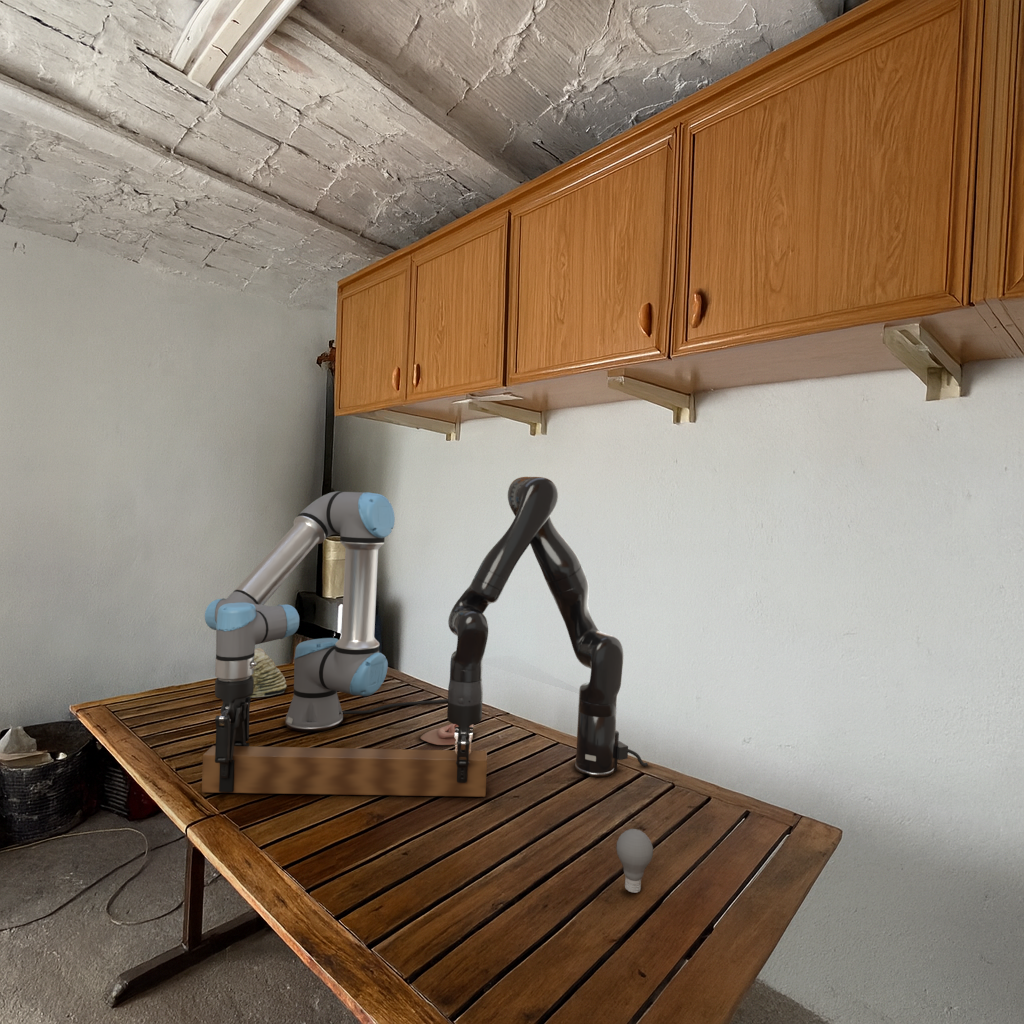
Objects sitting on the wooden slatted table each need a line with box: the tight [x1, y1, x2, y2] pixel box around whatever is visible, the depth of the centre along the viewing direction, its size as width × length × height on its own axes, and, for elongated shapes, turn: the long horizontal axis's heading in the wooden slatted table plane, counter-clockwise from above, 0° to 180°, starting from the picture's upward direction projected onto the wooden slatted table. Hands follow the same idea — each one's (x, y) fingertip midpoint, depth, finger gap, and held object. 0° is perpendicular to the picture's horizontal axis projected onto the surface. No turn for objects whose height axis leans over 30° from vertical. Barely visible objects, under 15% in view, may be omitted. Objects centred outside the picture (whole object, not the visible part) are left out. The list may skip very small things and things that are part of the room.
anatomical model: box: [420, 723, 474, 746], centre depth 169 cm, size 13×4×12 cm
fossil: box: [249, 647, 288, 699], centre depth 198 cm, size 9×18×15 cm, turn 132°
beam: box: [201, 745, 488, 798], centre depth 136 cm, size 59×5×8 cm, turn 93°
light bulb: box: [615, 828, 654, 894], centre depth 106 cm, size 6×6×10 cm
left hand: (231, 784), depth 135 cm, fingers closed on beam, 5 cm apart
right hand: (462, 775), depth 138 cm, fingers closed on beam, 5 cm apart
